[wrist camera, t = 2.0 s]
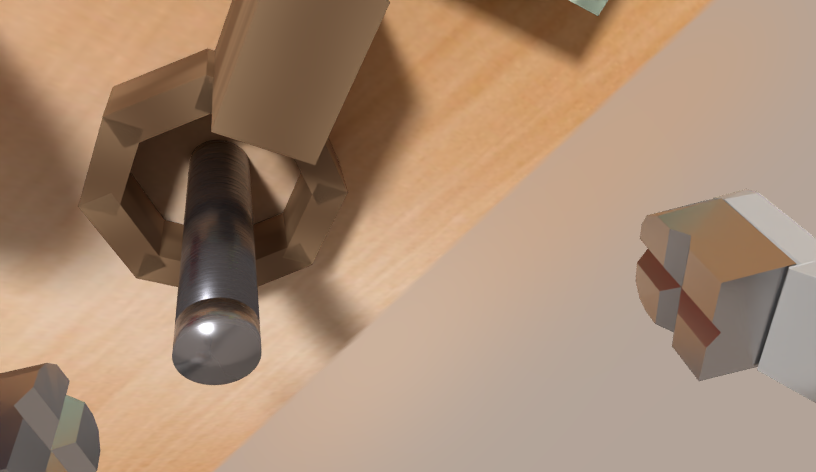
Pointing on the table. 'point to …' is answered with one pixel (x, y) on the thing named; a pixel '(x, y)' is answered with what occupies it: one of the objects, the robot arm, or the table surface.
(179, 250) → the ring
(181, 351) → the dark grey metal cylinder
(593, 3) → the tray
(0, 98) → the table surface
